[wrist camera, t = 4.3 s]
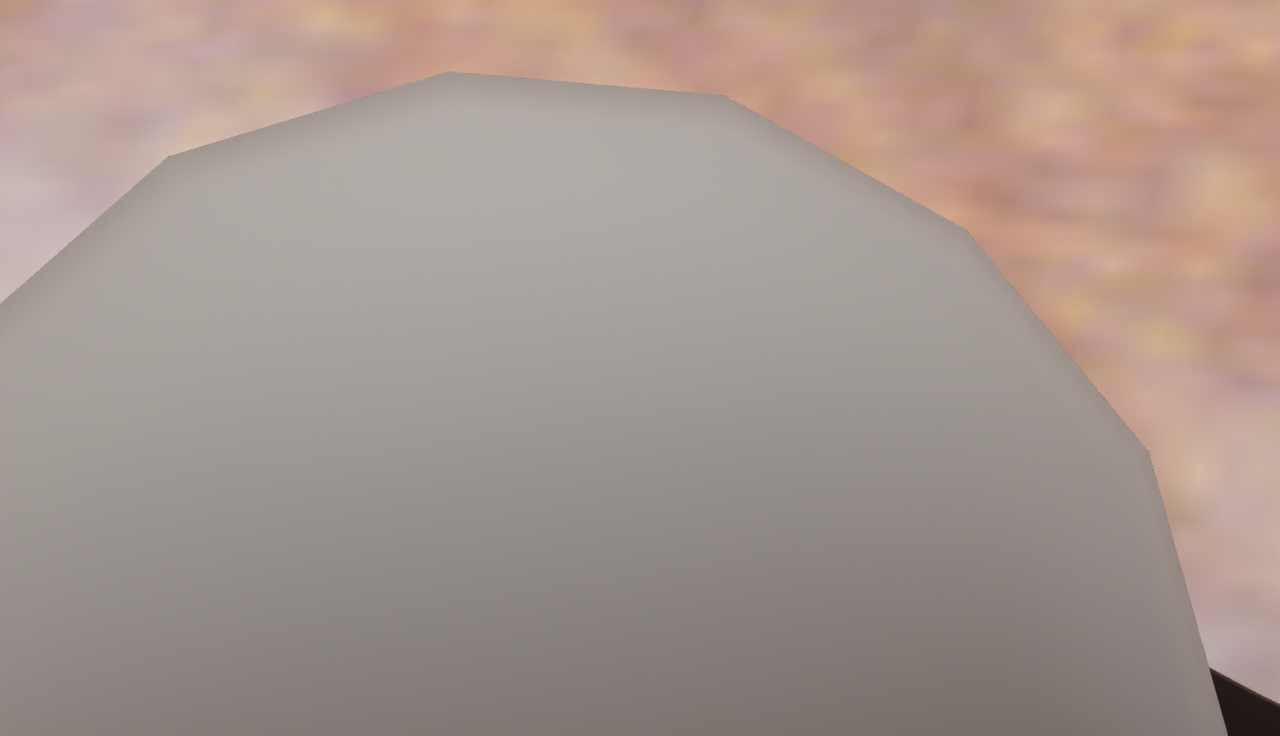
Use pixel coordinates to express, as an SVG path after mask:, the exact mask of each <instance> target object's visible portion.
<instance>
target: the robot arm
mask: <svg viewBox="0 0 1280 736" xmlns="http://www.w3.org/2000/svg"><path fill="white" fill-rule="evenodd" d="M1209 670H1210V673H1211V677H1212V680H1213V684H1214V687H1215V691H1216V695H1217V698H1218V702H1219V705H1220V709H1221V712H1222V716H1223V720H1224V723H1225V727H1226V730H1227V734H1228V736H1280V704H1279V703H1277V702H1274V701H1272V700H1270V699H1268V698H1266V697H1264V696H1262V695H1260V694H1258V693H1257V692H1255V691H1253V690H1251V689H1249V688H1247V687H1245V686H1243V685H1242V684H1240V683H1238V682H1236V681H1234V680H1232V679H1230V678H1228V677H1227V676H1225V675H1223V674H1221V673H1219V672H1217V671H1215V670H1213V669H1212V668H1210V667H1209Z"/></svg>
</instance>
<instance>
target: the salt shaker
mask: <svg viewBox="0 0 1280 736" xmlns="http://www.w3.org/2000/svg"><path fill="white" fill-rule="evenodd" d="M0 736H1228V734H1227V730H1226V727H1225V723H1224V720H1223V716H1222V712H1221V709H1220V705H1219V702H1218V698H1217V695H1216V691H1215V687H1214V684H1213V680H1212V677H1211V673H1210V670H1209V666H1208V662H1207V659H1206V655H1205V652H1204V648H1203V644H1202V641H1201V637H1200V634H1199V630H1198V627H1197V623H1196V619H1195V616H1194V612H1193V609H1192V605H1191V602H1190V598H1189V594H1188V591H1187V587H1186V584H1185V580H1184V576H1183V573H1182V569H1181V566H1180V562H1179V559H1178V555H1177V551H1176V548H1175V544H1174V541H1173V537H1172V534H1171V530H1170V526H1169V523H1168V519H1167V516H1166V512H1165V508H1164V505H1163V501H1162V498H1161V494H1160V491H1159V487H1158V483H1157V480H1156V476H1155V473H1154V469H1153V465H1152V462H1151V458H1150V455H1149V452H1148V450H1147V449H1146V448H1145V447H1144V446H1143V444H1142V443H1141V442H1140V441H1139V439H1138V438H1137V437H1136V436H1135V435H1134V433H1133V432H1132V431H1131V430H1130V429H1129V427H1128V426H1127V425H1126V424H1125V422H1124V421H1123V420H1122V419H1121V418H1120V416H1119V415H1118V414H1117V413H1116V411H1115V410H1114V409H1113V408H1112V407H1111V405H1110V404H1109V403H1108V402H1107V400H1106V399H1105V398H1104V397H1103V396H1102V394H1101V393H1100V392H1099V391H1098V390H1097V388H1096V387H1095V386H1094V385H1093V383H1092V382H1091V381H1090V380H1089V379H1088V377H1087V376H1086V375H1085V374H1084V372H1083V371H1082V370H1081V369H1080V368H1079V366H1078V365H1077V364H1076V363H1075V362H1074V360H1073V359H1072V358H1071V357H1070V355H1069V354H1068V353H1067V352H1066V351H1065V349H1064V348H1063V347H1062V346H1061V344H1060V343H1059V342H1058V341H1057V340H1056V338H1055V337H1054V336H1053V335H1052V333H1051V332H1050V331H1049V330H1048V329H1047V327H1046V326H1045V325H1044V324H1043V323H1042V321H1041V320H1040V319H1039V318H1038V316H1037V315H1036V314H1035V313H1034V312H1033V310H1032V309H1031V308H1030V307H1029V305H1028V304H1027V303H1026V302H1025V301H1024V299H1023V298H1022V297H1021V296H1020V294H1019V293H1018V292H1017V291H1016V290H1015V288H1014V287H1013V286H1012V285H1011V284H1010V282H1009V281H1008V280H1007V279H1006V277H1005V276H1004V275H1003V274H1002V273H1001V271H1000V270H999V269H998V268H997V266H996V265H995V264H994V263H993V262H992V260H991V259H990V258H989V257H988V255H987V254H986V253H985V252H984V251H983V249H982V248H981V247H980V246H979V245H978V243H977V242H976V241H975V240H974V238H973V237H972V236H971V235H970V234H969V232H968V231H967V230H965V229H964V228H962V227H960V226H958V225H956V224H955V223H953V222H951V221H949V220H947V219H946V218H944V217H942V216H940V215H938V214H937V213H935V212H933V211H931V210H930V209H928V208H926V207H924V206H922V205H921V204H919V203H917V202H915V201H913V200H912V199H910V198H908V197H906V196H904V195H903V194H901V193H899V192H897V191H895V190H894V189H892V188H890V187H888V186H886V185H885V184H883V183H881V182H879V181H877V180H876V179H874V178H872V177H870V176H869V175H867V174H865V173H863V172H861V171H860V170H858V169H856V168H854V167H852V166H851V165H849V164H847V163H845V162H843V161H842V160H840V159H838V158H836V157H834V156H833V155H831V154H829V153H827V152H825V151H824V150H822V149H820V148H818V147H816V146H815V145H813V144H811V143H809V142H808V141H806V140H804V139H802V138H800V137H799V136H797V135H795V134H793V133H791V132H790V131H788V130H786V129H784V128H782V127H781V126H779V125H777V124H775V123H773V122H772V121H770V120H768V119H766V118H764V117H763V116H761V115H759V114H757V113H755V112H754V111H752V110H750V109H748V108H747V107H745V106H743V105H741V104H739V103H738V102H736V101H734V100H732V99H730V98H729V97H727V96H721V95H710V94H698V93H687V92H675V91H664V90H652V89H641V88H629V87H618V86H606V85H595V84H584V83H572V82H561V81H549V80H538V79H526V78H515V77H503V76H492V75H480V74H469V73H458V72H446V73H443V74H440V75H436V76H433V77H430V78H426V79H423V80H420V81H416V82H413V83H410V84H407V85H403V86H400V87H397V88H393V89H390V90H387V91H383V92H380V93H377V94H374V95H370V96H367V97H364V98H360V99H357V100H354V101H350V102H347V103H344V104H341V105H337V106H334V107H331V108H327V109H324V110H321V111H317V112H314V113H311V114H308V115H304V116H301V117H298V118H294V119H291V120H288V121H284V122H281V123H278V124H275V125H271V126H268V127H265V128H261V129H258V130H255V131H251V132H248V133H245V134H242V135H238V136H235V137H232V138H228V139H225V140H222V141H218V142H215V143H212V144H209V145H205V146H202V147H199V148H195V149H192V150H189V151H185V152H182V153H179V154H176V155H172V156H169V157H167V158H166V159H165V160H164V161H162V162H161V163H160V164H159V165H158V166H157V167H156V168H155V169H153V170H152V171H151V172H150V173H149V174H148V175H147V176H145V177H144V178H143V179H142V180H141V181H140V182H139V183H137V184H136V185H135V186H134V187H133V188H132V189H131V190H130V191H128V192H127V193H126V194H125V195H124V196H123V197H122V198H120V199H119V200H118V201H117V202H116V203H115V204H114V205H112V206H111V207H110V208H109V209H108V210H107V211H106V212H104V213H103V214H102V215H101V216H100V217H99V218H98V219H97V220H95V221H94V222H93V223H92V224H91V225H90V226H89V227H87V228H86V229H85V230H84V231H83V232H82V233H81V234H79V235H78V236H77V237H76V238H75V239H74V240H73V241H72V242H70V243H69V244H68V245H67V246H66V247H65V248H64V249H62V250H61V251H60V252H59V253H58V254H57V255H56V256H54V257H53V258H52V259H51V260H50V261H49V262H48V263H47V264H45V265H44V266H43V267H42V268H41V269H40V270H39V271H37V272H36V273H35V274H34V275H33V276H32V277H31V278H29V279H28V280H27V281H26V282H25V283H24V284H23V285H21V286H20V287H19V288H18V289H17V290H16V291H15V292H14V293H12V294H11V295H10V296H9V297H8V298H7V299H6V300H4V301H3V302H2V303H1V304H0Z"/></svg>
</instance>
